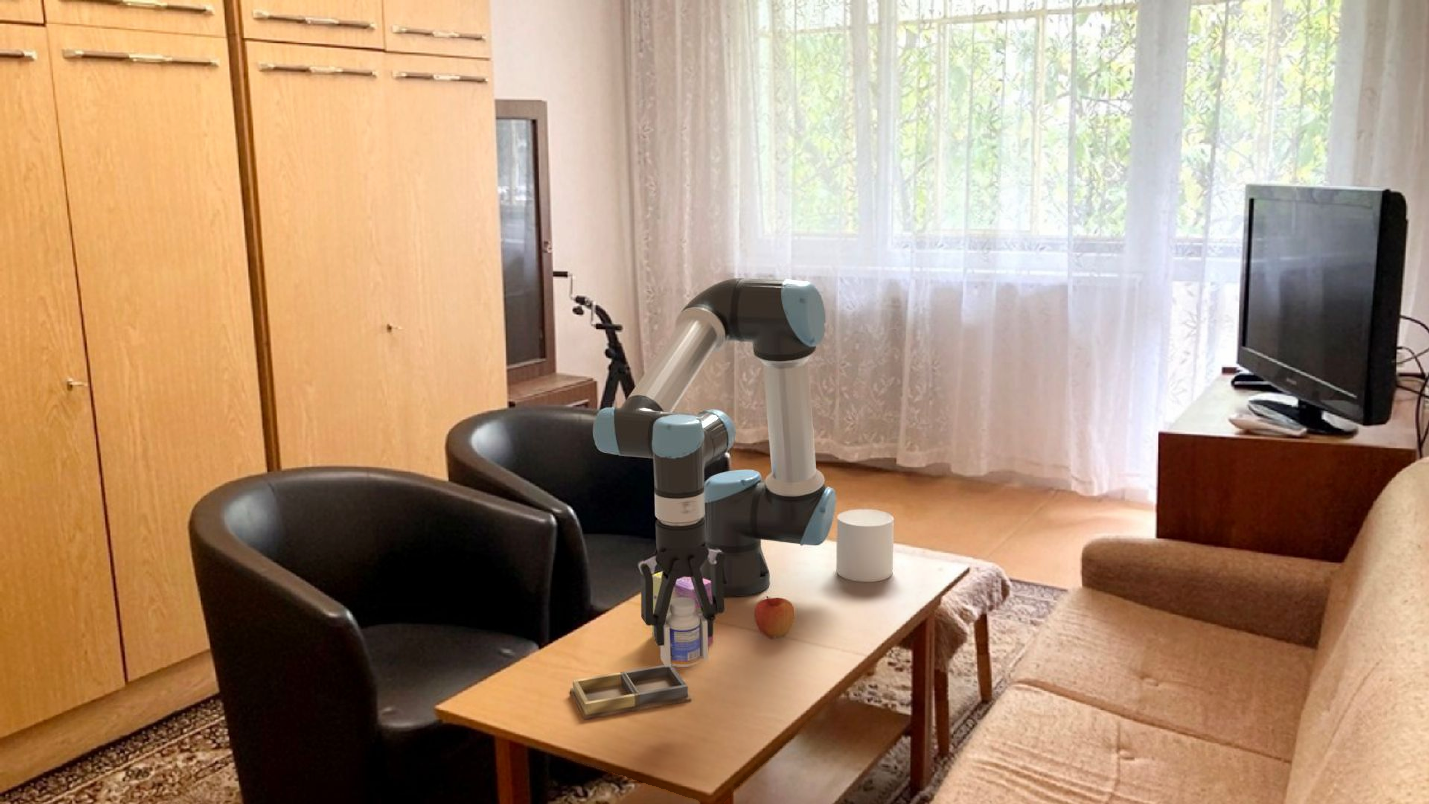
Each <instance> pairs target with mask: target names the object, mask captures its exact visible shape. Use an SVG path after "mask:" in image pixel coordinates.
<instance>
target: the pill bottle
mask: <svg viewBox="0 0 1429 804" xmlns="http://www.w3.org/2000/svg"><path fill="white" fill-rule="evenodd" d="M669 610H670V613H669V614H668V615H667V616H666V620H665V622H666V623H667V625H668V626H669V628H670V659H671V665H672V666H673V667H679V668H681V667H682V668H687V667H692V666H695V665H696V664H698V663H699V662H700V660H701V656H700V617H699V615H698V614H697V613H696V612H695V610H696V606H695V601H694V600H693V599H691V598H685V597H681V598H675V599H673V600H671V601H670V607H669Z"/></svg>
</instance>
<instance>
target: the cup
mask: <svg viewBox="0 0 1429 804" xmlns="http://www.w3.org/2000/svg"><path fill="white" fill-rule="evenodd" d="M894 524H895V518H894V517H893V515H892V514H890V513H889V512H887V511H882V510H877V509H871V508H857V509H849V510H845V511H841V512H840V513H839V514H838V515H837V517H836V563H835V566H836V568H835V569H836V573H837V575H839V576H840V577H842V578H843V579H846V580H848V581H854V582H859V583H860V582H861V583H875V582H880V581H884V580H887V579H888V578H891V576H892V575H893V570H894V530H895V529H894V528H895V526H894Z"/></svg>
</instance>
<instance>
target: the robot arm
mask: <svg viewBox="0 0 1429 804" xmlns="http://www.w3.org/2000/svg"><path fill="white" fill-rule="evenodd" d="M825 324H826V310H825V305H824V301H823V298H822V295H821V292H820V290H819V289H818V288H817V287H816V286H815V285H814V284H813V283H812V282H810V281H806V280H805V281H803V280H796V279H792V278H787V279H777V278H776V279H774V278H773V279H772V278H768V279H767V278H766V279H763V278H744V277H743V278H741V277H739V278H738V277H736V278H735V277H734V278H729V279H725V280H722V281H720V282H717V283H715V284H713V285H711V286H709V287H708V288H706V289H705V290H702V291H701V292H700V293H699V294H697V295H695V297H693V298H692V299H691V300H689V302H688V303H687V304H686V305H685V306H684V307H683V309H682V310H681V311H680V313H679V314H678V316H677V317H676V320H675V330H674V331H673V333H672V334H671V335H670V337H669V339H668V340H667V341H666V342H665V344H664V346H663V347H662V348H661V350H660V351H659V352H658V354H657V355H656V357H655V358H654V360H653V361H652V363H651V364H650V365H649V367H648V369H647V370H646V371H645V373H644V374H643V375H642V376H641V378H640V379H639V381H638V383H637V384H636V386H635V387H634V388H633V390H632V391H631V392H630V394H629V395H628V397H627V399H626V400H625V401H624V402H623V404H621V406H620V407H617V406H613V407H605V408H601V409H599V411H598V412H597V414H596V416H595V419H594V420H593V421H594V422H593V425H592V426H593V427H592V436H593V440H594V445H595V446H596V448H597V450H599V451H600V452H602V453H606V454H611V455H618V456H620V457H622V456H624V457H633V458H634V457H636V458H645V459H646V458H648V459H652V460H653V461H652V462H653V477H654V516H655V517H656V518H657V520H655V543H656V545H655V546H656V548H655V550H654V553H653V556H651V557H650V558H647V559H646V560H644V559H639V560H638V561H637V563H636V565H637V567H638V570H639V572H640V611H641V612H640V615H641V619H642V621H643V622H644V623H645V625H647V626H652V625H653V626H654V635H653V636H654V637H653V640H654V642H655V644H656V645H657V646H658V647H659V648H660V661H661V662H662V664H663V665H665V666H666V667H669V666H671V659H670V628H669V626H668V625H667V623H666V622H665V620H666V616H667V612H668V608H669V604H670V600H671V596H672V592H673V588H674V586H675V585H676V581H677V579H680V578H682V577H690V578H691V581H692V584H693V587H694V590H695V593H696V596H697V599H698V602H699V605H700V608H701V611H702V613H703V615H702V614H698V615H699V617H700V658H701V659H702V660H703V661H707V660H709V644H708V637H712V635H713V636H714V620H715V619H716V615H718V614H723V613H725V609H726V607H725V597H734V598H735V597H745V596H752V595H756V594H758V593H760V592H763V591H765V590H766V589H767V588H768V587H769V586H770V584H771V583H770V582H771V581H770V580H771V577H770V574H771V573H770V570H769V569H770V568H769V566H768V563H767V560H766V558H765V555H764V552H763V549H762V541H770V542H771V541H772V542H778V543H787V544H796V545H800V546H801V547H802V546H821V545H822V544H823V543H824V542H825V541H826V539H827V538H828V536H829V534H830V531H831V528H832V525H833V521H834V517H835V512H836V505H837V504H836V503H837V494H836V490H835V489H834V488H832V487H830V486H827V487H826V481H825V476H824V474H823V473H822V472H821V471H820V470H818V468H816V467H817V466H816V452H815V451H816V448H815V437H814V435H815V433H814V423H813V422H814V421H813V420H814V419H813V408H812V407H813V405H812V404H813V403H812V392H811V390H812V389H811V377H810V376H811V375H810V363H809V362H810V361H809V360H810V359H811V357H812V356H813V355H814V354H815V352H816V350H817V346H819V345H820V344H821V343H822V341H823V340H824V337H825V333H826V326H825ZM729 342H740V343H741V342H743V343H752V350H753V356H754V357H755V358H756V359H758V360H759V361H760V362H761V363H762V372H763V373H762V374H763V383H764V396H765V406H766V407H765V408H766V417H767V418H766V419H767V431H768V444H769V454H770V455H769V456H770V466H771V472H770V473H769V474H768V475H767V476H766V478H765V479H764V480H762V479H763V478H762V476H761V473H760V472H759V471H758V470H754V469H736V470H728V471H724V472H720V473H716V474H714V475H712V476H709V477H708V479H707V480H705V469H706V468H707V467H708V466H709V465H711V464H712V463H714V462H715V461H718V460H719V459H721V458H722V457H724V456H725V455H726V453H727V452H728V451H729V450H730V449H731V448H732V447H733V445H734V443H735V441H736V434H737V432H736V426H735V424H734V422H733V420H732V418H730V416H729V415H728V414H726V413H725V412H724V411H722V410H720V409H715V408H714V409H713V408H712V409H708V410H703V411H700V412H699V413H696V414H694V413H693V414H692V413H683V412H682V413H681V412H674V411H675V408H677V406H678V404H679V402H680V401H681V400H682V398H683V396H684V395H685V393H686V392H687V390H688V389H689V388H690V386H691V384H692V383H693V381H694V380H695V378H696V376H697V374H698V373H699V372H700V370H701V369H702V367H703V366H704V364H705V363H706V361H707V359H708V358H709V356H710V354H711V353H714V352H716V351H718V350H720V349H721V348H722V347H723V344H725V343H729ZM657 565H658V566H659V567H660V568H661V570H662V571H663V572H662V571H661V572H662V576H661V578H662V581H661V585H660V589H659V593H658V597H657V602H656V606H655V610H654V614H653V576H652V575H654V574H655V570H656V566H657ZM703 578H704V579H707V580H710V581H711V594H712V604H710V601H709V598H708V595H707V592H706V589H705V586H704V583H703Z"/></svg>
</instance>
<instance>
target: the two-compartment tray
mask: <svg viewBox="0 0 1429 804" xmlns="http://www.w3.org/2000/svg"><path fill="white" fill-rule="evenodd" d="M569 691H570V693H571V696H572V697H573V699H574V701H575V703H576V706H577V707H578V709H579V711H580V713H581V715H582V718H584V720H591V719H597V718H601V717H607V716H613V715H618V714H619V715H620V714H624V713H630V712H635V711H642V710H646V709H652V708H657V707H663V706H669V705H674V704H675V705H676V704H680V703H681V704H682V703H686V702H691V701H692V697H691V695H690V694H689V692H688V691H689V689H688V685H687V684H686V682H685V681H684V680H683V678H682V677H681V675H680V674H679V673H678V671H677V670H676V669H675V666H673V665H671V666H669V667H666V666H665V665H664V664H663V665H655V666H649V667H643V668H639V669H632V670H625V671H619V672H614V673H609V674H602V675H596V676H589V677H583V678H578V679H573V680H572V688H570V689H569Z"/></svg>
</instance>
